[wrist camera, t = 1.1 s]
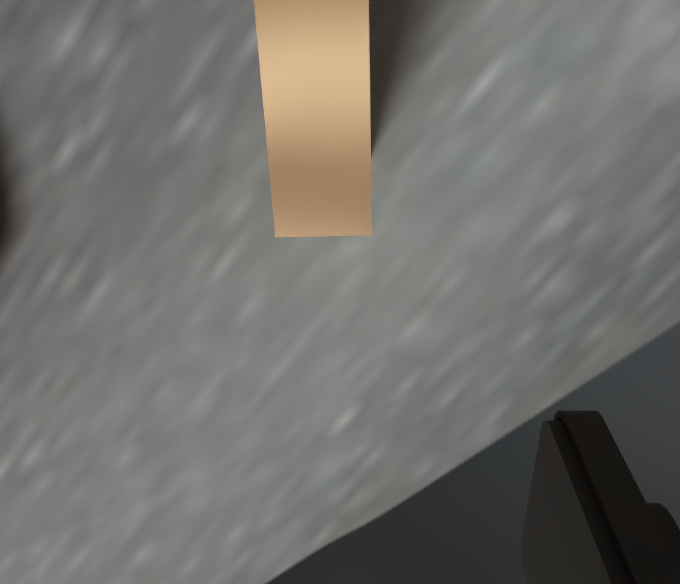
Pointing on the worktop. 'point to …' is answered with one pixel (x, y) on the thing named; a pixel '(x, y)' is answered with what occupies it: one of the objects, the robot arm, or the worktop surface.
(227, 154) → the worktop surface
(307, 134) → the oak plate
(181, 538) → the worktop surface
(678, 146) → the worktop surface
